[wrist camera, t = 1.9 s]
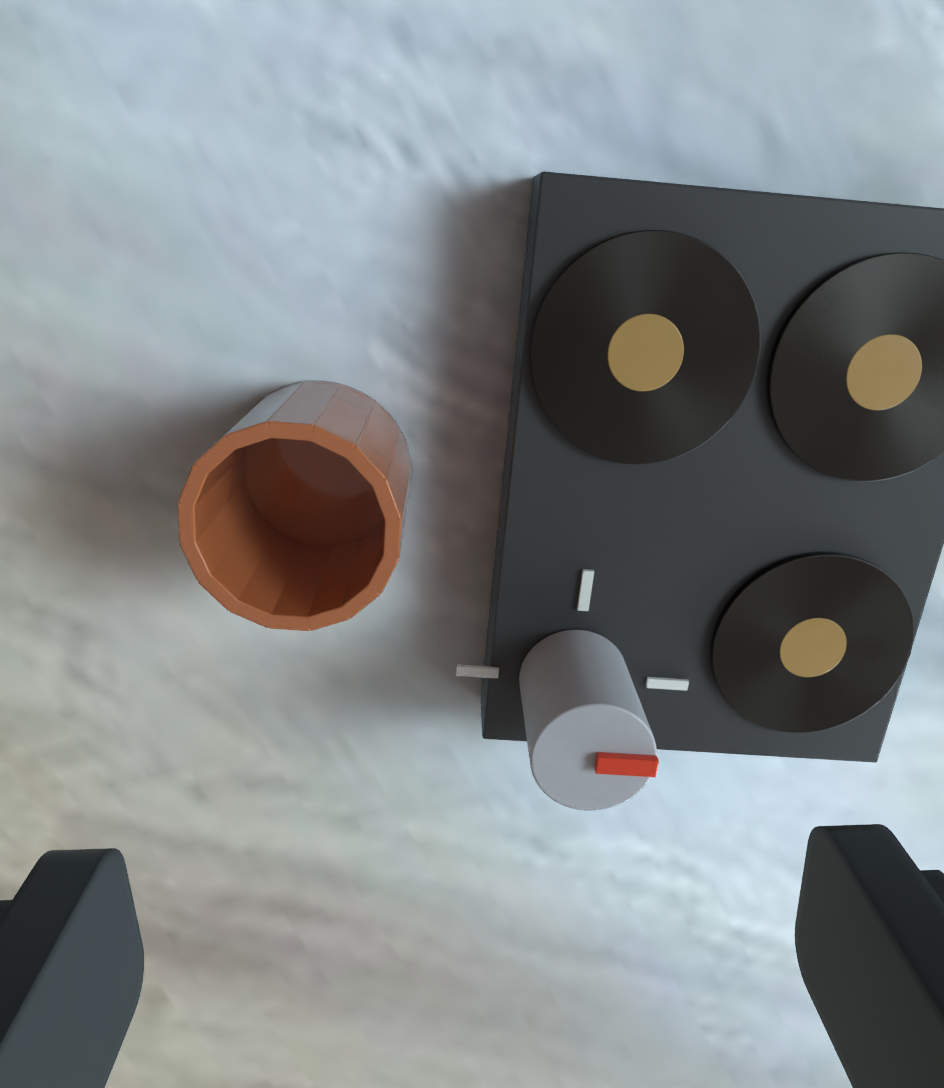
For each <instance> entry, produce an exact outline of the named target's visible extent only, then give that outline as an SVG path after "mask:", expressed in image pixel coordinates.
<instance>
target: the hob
mask: <svg viewBox="0 0 944 1088" xmlns="http://www.w3.org/2000/svg"><path fill="white" fill-rule="evenodd" d="M643 230H665V231H671V232H678V233H682V234H685V235H688V236H691V237H695V238H697V239H699V240H701V241H703V242H705V243H707V244H709V245H710V246H712V247H713V248H715V249H716V250H718V251H719V252H721V253H722V254H723V255H724V256H725V257H726V258H727V259H728V260H729V261H730V262H731V263H732V264H733V265H734V266H735V267H736V269H737V270H738V271H739V272H740V274H741V275H742V277H743V278H744V280H745V282H746V283H747V285H748V287H749V289H750V291H751V293H752V296H753V298H754V301H755V304H756V308H757V311H758V315H759V322H760V330H761V347H760V354H759V362H758V366H757V369H756V373H755V377H754V379H753V382H752V384H751V387H750V389H749V392H748V394H747V395H746V397H745V399H744V401H743V403H742V404H741V406H740V407H739V409H738V410H737V412H736V413H735V414H734V416H733V417H732V418H731V419H730V420H729V422H728V423H727V424H726V425H725V426H724V427H723V428H722V429H721V430H720V431H719V432H718V433H716V434H715V435H714V436H713V437H712V438H711V439H709V440H708V441H706V442H705V443H703V444H702V445H700V446H699V447H697V448H695V449H694V450H692V451H690V452H688V453H686V454H684V455H681V456H678V457H676V458H673V459H670V460H666V461H661V462H657V463H649V464H624V463H617V462H612V461H608V460H605V459H601V458H599V457H596V456H594V455H592V454H589V453H587V452H586V451H584V450H582V449H581V448H579V447H577V446H576V445H574V444H573V443H572V442H571V441H569V440H568V439H567V438H566V437H564V436H563V434H562V433H561V432H560V431H559V430H558V429H557V428H556V427H555V426H554V424H553V423H552V422H551V420H550V419H549V417H548V416H547V415H546V413H545V411H544V409H543V407H542V405H541V403H540V401H539V399H538V396H537V393H536V390H535V388H534V384H533V379H532V375H531V367H530V342H531V336H532V330H533V325H534V322H535V319H536V316H537V312H538V310H539V308H540V306H541V303H542V301H543V299H544V297H545V295H546V294H547V292H548V290H549V289H550V287H551V285H552V284H553V282H554V281H555V280H556V279H557V277H558V276H559V275H560V274H561V272H562V271H563V270H564V269H565V268H566V267H567V266H568V265H569V264H570V263H571V262H572V261H573V260H574V259H576V258H577V257H578V256H580V255H581V254H582V253H584V252H585V251H586V250H588V249H590V248H591V247H593V246H595V245H597V244H598V243H600V242H602V241H605V240H607V239H610V238H612V237H614V236H617V235H621V234H625V233H629V232H634V231H643ZM892 252H910V253H919V254H925V255H930V256H933V257H936V258H939V259H942V260H944V209H943V208H932V207H922V206H911V205H900V204H889V203H878V202H867V201H857V200H846V199H835V198H824V197H813V196H803V195H792V194H781V193H770V192H759V191H748V190H738V189H727V188H716V187H705V186H694V185H684V184H673V183H662V182H651V181H640V180H629V179H619V178H608V177H597V176H586V175H575V174H565V173H554V172H541V173H539V174H538V175H536V176H534V177H533V182H532V192H531V202H530V212H529V222H528V232H527V242H526V252H525V262H524V272H523V282H522V292H521V302H520V312H519V322H518V332H517V342H516V352H515V362H514V372H513V382H512V392H511V402H510V412H509V422H508V432H507V442H506V452H505V462H504V471H503V481H502V491H501V501H500V511H499V521H498V531H497V541H496V551H495V561H494V571H493V581H492V591H491V601H490V611H489V621H488V631H487V641H486V651H485V661H484V666H475V665H459V664H457V669H456V676H467V677H483V681H482V691H481V718H482V736H483V738H484V739H498V740H514V741H527V736H526V729H525V721H524V714H523V707H522V699H521V692H520V684H519V674H520V669H521V666H522V663H523V661H524V659H525V657H526V656H527V654H528V653H529V651H530V650H531V649H532V648H533V647H534V646H535V645H536V644H537V643H539V642H540V641H541V640H543V639H544V638H546V637H548V636H550V635H552V634H555V633H558V632H562V631H567V630H584V631H589V632H593V633H596V634H599V635H601V636H603V637H605V638H606V639H608V640H609V641H610V642H612V643H613V644H614V645H615V646H616V647H617V649H618V650H619V651H620V653H621V654H622V656H623V658H624V661H625V663H626V666H627V669H628V671H629V674H630V677H631V679H632V682H633V684H634V687H635V690H636V692H637V695H638V697H639V700H640V703H641V705H642V708H643V710H644V713H645V716H646V718H647V721H648V723H649V726H650V729H651V731H652V734H653V737H654V739H655V743H656V749H663V750H679V751H696V752H712V753H729V754H745V755H762V756H778V757H795V758H811V759H828V760H844V761H861V762H877V760H878V757H879V754H880V750H881V747H882V744H883V740H884V737H885V734H886V731H887V727H888V724H889V721H890V717H891V714H892V711H893V708H894V704H895V701H896V698H897V695H898V691H899V688H900V685H901V681H902V678H903V675H904V672H905V669H904V670H903V672H902V674H901V676H900V678H899V679H898V680H897V682H896V683H895V685H894V686H893V688H892V689H891V690H890V691H889V692H888V693H887V694H886V695H885V697H883V698H882V699H881V700H880V701H879V702H878V703H877V704H876V705H875V706H873V707H872V708H870V709H869V710H868V711H866V712H865V713H863V714H862V715H860V716H858V717H856V718H855V719H853V720H851V721H849V722H846V723H844V724H842V725H839V726H836V727H833V728H830V729H826V730H822V731H817V732H808V733H787V732H779V731H775V730H771V729H767V728H764V727H762V726H759V725H757V724H755V723H753V722H751V721H749V720H747V719H746V718H744V717H743V716H742V715H740V714H739V713H738V712H736V711H735V710H734V709H733V708H732V707H731V706H730V705H729V703H728V702H727V700H726V699H725V698H724V696H723V695H722V693H721V691H720V689H719V687H718V685H717V684H716V681H715V678H714V675H713V672H712V667H711V657H710V649H711V641H712V636H713V632H714V629H715V625H716V623H717V621H718V618H719V616H720V614H721V612H722V611H723V609H724V607H725V606H726V604H727V602H728V601H729V600H730V599H731V597H732V596H733V595H734V593H735V592H736V591H737V590H738V589H739V588H740V587H741V586H742V585H743V584H744V583H745V582H747V581H748V580H749V579H750V578H752V577H753V576H754V575H755V574H757V573H758V572H760V571H762V570H763V569H765V568H766V567H768V566H770V565H772V564H774V563H776V562H778V561H781V560H784V559H787V558H789V557H792V556H796V555H801V554H805V553H813V552H838V553H846V554H850V555H853V556H857V557H860V558H862V559H865V560H867V561H869V562H871V563H873V564H875V565H876V566H878V567H879V568H881V569H882V570H883V571H885V572H886V573H887V574H888V575H889V576H890V577H892V578H893V579H894V580H895V582H896V583H897V584H898V585H899V586H900V588H901V589H902V591H903V592H904V594H905V596H906V597H907V600H908V602H909V605H910V607H911V611H912V616H913V623H914V637H913V642H914V639H915V636H916V632H917V629H918V626H919V622H920V619H921V616H922V613H923V609H924V606H925V603H926V599H927V596H928V593H929V590H930V586H931V583H932V580H933V577H934V573H935V570H936V567H937V563H938V560H939V557H940V554H941V550H942V547H943V544H944V453H943V454H942V455H940V456H939V457H937V458H936V459H934V460H933V461H931V462H930V463H928V464H926V465H925V466H922V467H920V468H918V469H916V470H914V471H912V472H910V473H907V474H904V475H901V476H898V477H894V478H890V479H886V480H879V481H870V482H859V481H849V480H842V479H838V478H835V477H831V476H828V475H826V474H824V473H821V472H819V471H817V470H815V469H814V468H812V467H811V466H809V465H807V464H806V463H804V462H803V461H802V460H801V459H799V458H798V457H797V456H796V455H795V454H794V453H793V452H792V451H791V450H790V449H789V448H788V446H787V445H786V444H785V443H784V441H783V440H782V438H781V436H780V435H779V433H778V432H777V429H776V427H775V425H774V422H773V420H772V417H771V413H770V409H769V405H768V396H767V375H768V368H769V361H770V358H771V354H772V350H773V347H774V344H775V342H776V340H777V337H778V335H779V332H780V330H781V329H782V327H783V325H784V323H785V321H786V320H787V318H788V316H789V315H790V314H791V312H792V311H793V309H794V308H795V307H796V305H797V304H798V303H799V302H800V301H801V300H802V298H803V297H804V296H805V295H806V294H807V293H808V292H809V291H810V290H811V289H812V288H814V287H815V286H816V285H817V284H818V283H819V282H820V281H822V280H823V279H825V278H826V277H827V276H829V275H830V274H832V273H833V272H835V271H837V270H838V269H840V268H842V267H844V266H846V265H848V264H850V263H852V262H855V261H857V260H860V259H863V258H866V257H870V256H874V255H878V254H884V253H892ZM906 665H907V664H906ZM905 668H906V667H905Z"/></svg>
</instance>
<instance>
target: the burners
mask: <svg viewBox="0 0 944 1088" xmlns="http://www.w3.org/2000/svg"><path fill="white" fill-rule="evenodd" d="M760 347H761V330H760V322H759V315H758V311H757V308H756V304H755V301H754V298H753V296H752V293H751V291H750V289H749V287H748V285H747V283H746V282H745V280H744V278H743V277H742V275H741V274H740V272H739V271H738V270H737V269H736V267H735V266H734V265H733V264H732V263H731V262H730V261H729V260H728V259H727V258H726V257H725V256H724V255H723V254H722V253H721V252H719V251H718V250H716V249H715V248H713V247H712V246H710V245H709V244H707V243H705V242H703V241H701V240H699V239H697V238H695V237H691V236H688V235H685V234H682V233H678V232H671V231H665V230H643V231H634V232H629V233H625V234H621V235H617V236H614V237H612V238H610V239H607V240H605V241H602V242H600V243H598V244H597V245H595V246H593V247H591V248H590V249H588V250H586V251H585V252H584V253H582V254H581V255H580V256H578V257H577V258H576V259H574V260H573V261H572V262H571V263H570V264H569V265H568V266H567V267H566V268H565V269H564V270H563V271H562V272H561V274H560V275H559V276H558V277H557V279H556V280H555V281H554V282H553V284H552V285H551V287H550V289H549V290H548V292H547V294H546V295H545V297H544V299H543V301H542V303H541V306H540V308H539V310H538V312H537V316H536V319H535V322H534V325H533V330H532V336H531V342H530V367H531V375H532V379H533V384H534V388H535V390H536V393H537V396H538V399H539V401H540V403H541V405H542V407H543V409H544V411H545V413H546V415H547V416H548V417H549V419H550V420H551V422H552V423H553V424H554V426H555V427H556V428H557V429H558V430H559V431H560V432H561V433H562V434H563V436H564V437H566V438H567V439H568V440H569V441H571V442H572V443H573V444H574V445H576V446H577V447H579V448H581V449H582V450H584V451H586V452H587V453H589V454H592V455H594V456H596V457H599V458H601V459H605V460H608V461H612V462H617V463H624V464H649V463H657V462H661V461H666V460H670V459H673V458H676V457H678V456H681V455H684V454H686V453H688V452H690V451H692V450H694V449H695V448H697V447H699V446H700V445H702V444H703V443H705V442H706V441H708V440H709V439H711V438H712V437H713V436H714V435H715V434H716V433H718V432H719V431H720V430H721V429H722V428H723V427H724V426H725V425H726V424H727V423H728V422H729V420H730V419H731V418H732V417H733V416H734V414H735V413H736V412H737V410H738V409H739V407H740V406H741V404H742V403H743V401H744V399H745V397H746V395H747V394H748V392H749V389H750V387H751V384H752V382H753V379H754V377H755V373H756V369H757V366H758V362H759V354H760ZM767 396H768V405H769V409H770V413H771V417H772V420H773V422H774V425H775V427H776V429H777V432H778V433H779V435H780V436H781V438H782V440H783V441H784V443H785V444H786V445H787V446H788V448H789V449H790V450H791V451H792V452H793V453H794V454H795V455H796V456H797V457H798V458H799V459H801V460H802V461H803V462H804V463H806V464H807V465H809V466H811V467H812V468H814V469H815V470H817V471H819V472H821V473H824V474H826V475H828V476H831V477H835V478H838V479H842V480H849V481H859V482H870V481H879V480H886V479H890V478H894V477H898V476H901V475H904V474H907V473H910V472H912V471H914V470H916V469H918V468H920V467H922V466H925V465H926V464H928V463H930V462H931V461H933V460H934V459H936V458H937V457H939V456H940V455H942V454H943V453H944V260H942V259H939V258H936V257H933V256H930V255H925V254H919V253H910V252H892V253H884V254H878V255H874V256H870V257H866V258H863V259H860V260H857V261H855V262H852V263H850V264H848V265H846V266H844V267H842V268H840V269H838V270H837V271H835V272H833V273H832V274H830V275H829V276H827V277H826V278H825V279H823V280H822V281H820V282H819V283H818V284H817V285H816V286H815V287H814V288H812V289H811V290H810V291H809V292H808V293H807V294H806V295H805V296H804V297H803V298H802V300H801V301H800V302H799V303H798V304H797V305H796V307H795V308H794V309H793V311H792V312H791V314H790V315H789V316H788V318H787V320H786V321H785V323H784V325H783V327H782V329H781V330H780V332H779V335H778V337H777V340H776V342H775V344H774V347H773V350H772V354H771V358H770V361H769V368H768V375H767ZM913 637H914V623H913V616H912V611H911V607H910V605H909V602H908V600H907V597H906V596H905V594H904V592H903V591H902V589H901V588H900V586H899V585H898V584H897V583H896V582H895V580H894V579H893V578H892V577H890V576H889V575H888V574H887V573H886V572H885V571H883V570H882V569H881V568H879V567H878V566H876V565H875V564H873V563H871V562H869V561H867V560H865V559H862V558H860V557H857V556H853V555H850V554H846V553H838V552H813V553H805V554H801V555H796V556H792V557H789V558H787V559H784V560H781V561H778V562H776V563H774V564H772V565H770V566H768V567H766V568H765V569H763V570H762V571H760V572H758V573H757V574H755V575H754V576H753V577H752V578H750V579H749V580H748V581H747V582H745V583H744V584H743V585H742V586H741V587H740V588H739V589H738V590H737V591H736V592H735V593H734V595H733V596H732V597H731V599H730V600H729V601H728V602H727V604H726V606H725V607H724V609H723V611H722V612H721V614H720V616H719V618H718V621H717V623H716V625H715V629H714V632H713V636H712V641H711V649H710V657H711V667H712V672H713V675H714V678H715V681H716V684H717V685H718V687H719V689H720V691H721V693H722V695H723V696H724V698H725V699H726V700H727V702H728V703H729V705H730V706H731V707H732V708H733V709H734V710H735V711H736V712H738V713H739V714H740V715H742V716H743V717H744V718H746V719H747V720H749V721H751V722H753V723H755V724H757V725H759V726H762V727H764V728H767V729H771V730H775V731H779V732H787V733H808V732H817V731H822V730H826V729H830V728H833V727H836V726H839V725H842V724H844V723H846V722H849V721H851V720H853V719H855V718H856V717H858V716H860V715H862V714H863V713H865V712H866V711H868V710H869V709H870V708H872V707H873V706H875V705H876V704H877V703H878V702H879V701H880V700H881V699H882V698H883V697H885V695H886V694H887V693H888V692H889V691H890V690H891V689H892V688H893V686H894V685H895V683H896V682H897V680H898V679H899V678H900V676H901V674H902V672H903V670H904V669H905V667H906V664H907V662H908V659H909V657H910V654H911V649H912V645H913Z"/></svg>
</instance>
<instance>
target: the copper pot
mask: <svg viewBox="0 0 944 1088" xmlns="http://www.w3.org/2000/svg"><path fill="white" fill-rule="evenodd" d="M411 468H412V465H411V459H410V453H409V450H408V446H407V443H406V440H405V438H404V436H403V434H402V432H401V430H400V428H399V427H398V425H397V423H396V422H395V420H394V419H393V418H392V417H391V415H390V414H389V413H388V412H387V411H386V410H385V409H384V408H383V407H382V406H381V405H380V404H379V403H377V402H376V401H375V400H374V399H372V398H371V397H369V396H368V395H366V394H364V393H362V392H361V391H359V390H356V389H354V388H352V387H349V386H346V385H342V384H339V383H334V382H327V381H308V382H300V383H296V384H292V385H289V386H286V387H284V388H281V389H279V390H277V391H275V392H273V393H270V394H269V395H267V396H266V397H265V398H264V399H263V400H262V401H260V402H259V403H258V404H257V405H256V406H255V407H254V408H253V409H252V410H251V411H249V412H248V413H247V414H246V415H245V416H244V417H243V418H242V419H241V420H240V421H239V422H237V423H236V424H235V425H234V426H233V427H232V428H231V429H230V430H229V431H228V432H227V433H226V434H224V435H223V436H222V437H221V438H220V439H219V440H218V441H217V442H216V443H215V444H214V445H213V446H211V447H210V448H209V449H208V450H207V451H206V452H205V453H204V454H203V455H202V456H201V457H200V458H198V459H197V460H196V461H195V462H194V464H193V465H192V467H191V470H190V472H189V475H188V477H187V480H186V482H185V484H184V487H183V489H182V492H181V494H180V497H179V499H178V504H177V506H178V528H179V543H180V546H181V548H182V550H183V553H184V555H185V557H186V559H187V561H188V563H189V565H190V567H191V569H192V571H193V573H194V575H195V578H196V580H197V581H198V583H199V584H200V585H201V586H202V587H203V588H205V589H206V590H207V591H208V592H209V593H210V594H211V595H212V596H213V597H214V598H215V599H216V600H217V601H218V602H219V603H220V604H222V605H223V606H224V607H225V608H226V609H227V610H228V611H229V610H230V612H232V613H234V614H236V615H239V616H241V617H243V618H246V619H248V620H250V621H252V622H255V623H257V624H259V625H262V626H264V627H266V628H268V627H269V628H271V629H286V630H301V631H310V630H311V631H312V630H316V629H319V628H322V627H326V626H329V625H332V624H336V623H339V622H342V621H346V620H348V619H349V618H352V617H353V616H355V615H356V614H357V613H358V612H360V611H361V610H362V609H363V608H365V607H366V606H367V605H368V604H369V603H371V602H372V601H373V600H374V599H376V598H377V597H378V596H379V595H380V594H381V593H382V592H383V590H384V588H385V586H386V584H387V582H388V580H389V578H390V576H391V574H392V572H393V570H394V569H395V567H396V565H397V563H398V561H399V557H400V552H401V546H402V540H403V534H404V528H405V522H406V516H407V510H408V504H409V498H410V485H411Z"/></svg>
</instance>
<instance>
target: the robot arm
mask: <svg viewBox="0 0 944 1088" xmlns="http://www.w3.org/2000/svg"><path fill="white" fill-rule="evenodd" d="M795 945H796V953H797V959H798V963H799V967H800V971H801V975H802V977H803V980H804V983H805V985H806V988H807V990H808V992H809V994H810V997H811V999H812V1001H813V1003H814V1005H815V1007H816V1009H817V1012H818V1014H819V1016H820V1018H821V1020H822V1022H823V1024H824V1027H825V1029H826V1031H827V1033H828V1035H829V1037H830V1040H831V1042H832V1044H833V1046H834V1048H835V1050H836V1052H837V1055H838V1057H839V1059H840V1061H841V1063H842V1065H843V1067H844V1070H845V1072H846V1074H847V1076H848V1078H849V1080H850V1082H851V1085H852V1087H853V1088H944V873H942V872H941V871H940V870H922V871H920V870H919V869H918V867H917V866H916V864H915V863H914V862H913V860H912V859H911V858H910V856H909V855H908V853H907V852H906V851H905V849H904V848H903V846H902V845H901V844H900V842H899V841H898V840H897V838H896V837H895V835H894V834H893V833H892V832H891V831H890V830H889V829H888V828H887V827H885V826H883V825H880V824H872V825H843V826H818V827H815V828H814V829H813V830H812V831H811V833H810V836H809V839H808V845H807V851H806V858H805V864H804V871H803V877H802V884H801V890H800V897H799V904H798V910H797V917H796V923H795ZM143 973H144V950H143V944H142V939H141V934H140V930H139V925H138V920H137V916H136V911H135V906H134V902H133V897H132V892H131V888H130V883H129V878H128V874H127V869H126V864H125V861H124V858H123V855H122V854H121V852H120V851H119V850H118V849H115V848H109V849H80V850H52V851H48V852H46V853H45V854H43V855H42V856H41V857H40V859H39V860H38V861H37V863H36V864H35V866H34V867H33V869H32V870H31V872H30V874H29V875H28V877H27V878H26V880H25V881H24V883H23V884H22V886H21V888H20V889H19V891H18V892H17V894H16V895H15V897H14V898H13V900H1V901H0V1088H105V1085H106V1083H107V1080H108V1078H109V1075H110V1073H111V1070H112V1068H113V1065H114V1063H115V1060H116V1058H117V1055H118V1052H119V1050H120V1047H121V1045H122V1042H123V1040H124V1037H125V1035H126V1032H127V1030H128V1027H129V1025H130V1022H131V1020H132V1017H133V1015H134V1012H135V1010H136V1007H137V1004H138V1000H139V997H140V992H141V988H142V982H143Z"/></svg>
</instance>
